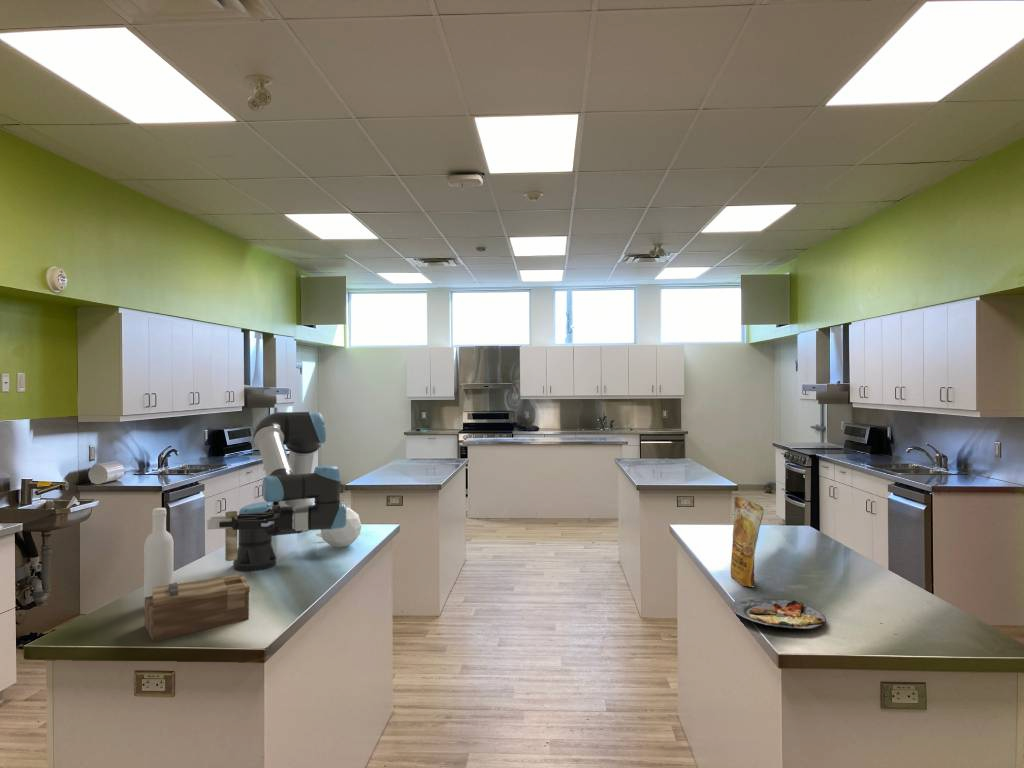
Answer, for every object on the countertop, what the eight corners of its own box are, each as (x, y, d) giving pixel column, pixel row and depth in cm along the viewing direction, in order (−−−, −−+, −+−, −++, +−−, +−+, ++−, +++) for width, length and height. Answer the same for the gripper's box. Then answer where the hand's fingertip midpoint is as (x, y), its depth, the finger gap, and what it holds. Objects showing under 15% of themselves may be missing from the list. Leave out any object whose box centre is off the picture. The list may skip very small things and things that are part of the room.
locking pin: (223, 559, 175) (223, 512, 175) (235, 557, 177) (235, 510, 178) (227, 561, 173) (227, 513, 173) (238, 559, 175) (238, 512, 175)
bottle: (174, 607, 181) (175, 509, 182) (144, 612, 177) (145, 512, 177) (171, 599, 188) (172, 505, 188) (142, 605, 183) (143, 508, 184)
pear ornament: (358, 501, 246) (370, 517, 271) (304, 503, 245) (321, 519, 270) (355, 541, 239) (368, 554, 264) (299, 543, 238) (317, 556, 263)
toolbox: (144, 625, 167) (144, 597, 167) (234, 605, 182) (235, 579, 183) (153, 641, 156) (153, 611, 156) (248, 619, 172) (248, 591, 172)
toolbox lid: (152, 592, 171) (152, 583, 171) (242, 578, 184) (242, 570, 184) (153, 607, 159) (153, 597, 159) (249, 591, 172) (249, 582, 172)
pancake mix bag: (743, 572, 215) (742, 495, 216) (766, 590, 196) (765, 505, 197) (724, 572, 215) (724, 495, 216) (745, 590, 196) (745, 505, 197)
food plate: (813, 608, 181) (813, 596, 181) (837, 639, 158) (837, 626, 158) (727, 601, 186) (727, 590, 186) (738, 631, 164) (738, 618, 164)
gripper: (291, 537, 172) (202, 542, 166) (296, 525, 188) (215, 529, 181) (291, 511, 172) (202, 516, 166) (296, 501, 188) (215, 505, 181)
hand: (209, 523), depth 174 cm, fingers closed on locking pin, 3 cm apart
